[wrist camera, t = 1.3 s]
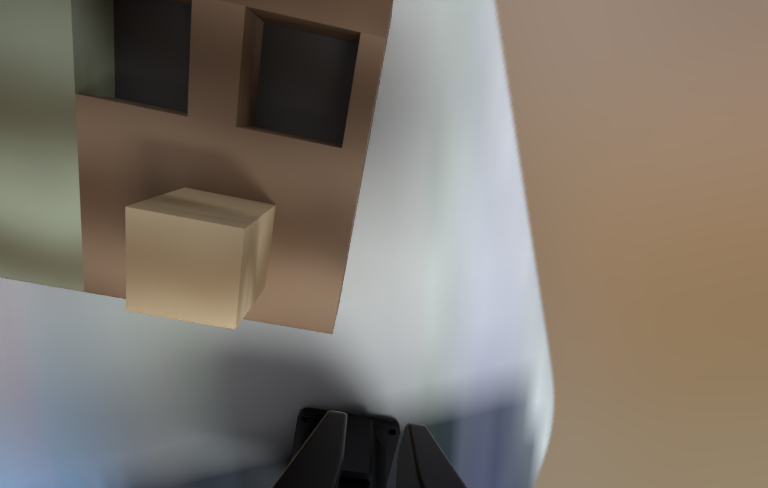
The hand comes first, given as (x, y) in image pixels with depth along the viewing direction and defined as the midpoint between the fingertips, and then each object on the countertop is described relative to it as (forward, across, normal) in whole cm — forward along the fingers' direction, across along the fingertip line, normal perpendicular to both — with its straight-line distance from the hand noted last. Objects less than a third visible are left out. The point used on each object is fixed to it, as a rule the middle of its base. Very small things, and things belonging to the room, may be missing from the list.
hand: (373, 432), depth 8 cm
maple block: (+10, +7, 0) cm, 12 cm away
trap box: (+13, +10, -4) cm, 17 cm away
